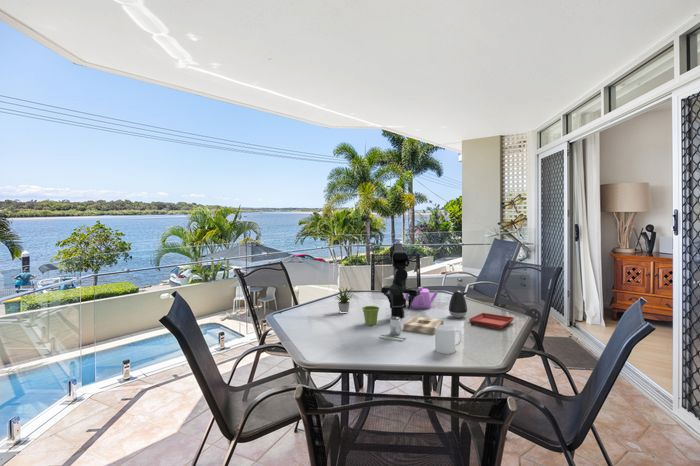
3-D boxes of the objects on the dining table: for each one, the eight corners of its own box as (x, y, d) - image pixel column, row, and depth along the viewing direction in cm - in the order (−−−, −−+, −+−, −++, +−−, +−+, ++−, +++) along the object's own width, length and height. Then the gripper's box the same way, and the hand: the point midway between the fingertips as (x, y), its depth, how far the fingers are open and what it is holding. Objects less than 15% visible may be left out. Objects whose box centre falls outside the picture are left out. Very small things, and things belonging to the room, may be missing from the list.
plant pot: (383, 323, 204) (382, 307, 204) (372, 327, 198) (371, 310, 197) (369, 320, 211) (369, 305, 211) (358, 324, 204) (358, 308, 204)
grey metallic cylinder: (388, 335, 181) (388, 318, 181) (392, 332, 186) (392, 315, 185) (398, 337, 179) (398, 319, 178) (402, 334, 183) (402, 316, 183)
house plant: (362, 311, 231) (361, 285, 230) (350, 316, 219) (349, 288, 219) (342, 308, 239) (342, 283, 238) (330, 313, 227) (329, 286, 226)
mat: (379, 337, 180) (379, 336, 180) (389, 331, 190) (388, 329, 190) (402, 341, 174) (402, 340, 174) (411, 334, 185) (411, 333, 185)
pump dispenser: (468, 319, 209) (468, 292, 208) (449, 318, 211) (449, 292, 210) (466, 314, 219) (466, 289, 218) (448, 314, 221) (448, 288, 220)
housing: (403, 331, 189) (403, 323, 189) (414, 323, 203) (414, 316, 203) (434, 336, 181) (434, 328, 181) (443, 327, 195) (443, 319, 195)
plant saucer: (468, 324, 200) (467, 318, 200) (482, 317, 213) (482, 312, 213) (502, 331, 188) (502, 325, 188) (515, 323, 201) (515, 317, 201)
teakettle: (419, 301, 254) (419, 283, 254) (439, 306, 241) (439, 287, 241) (401, 306, 244) (401, 287, 243) (421, 310, 231) (421, 290, 230)
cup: (431, 348, 164) (431, 325, 164) (456, 345, 167) (456, 323, 167) (441, 355, 156) (441, 331, 156) (466, 352, 159) (466, 328, 159)
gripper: (376, 278, 184) (376, 309, 185) (412, 281, 174) (412, 314, 175) (385, 274, 193) (385, 304, 194) (420, 277, 184) (420, 308, 185)
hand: (400, 308), depth 187 cm, fingers open, 9 cm apart
